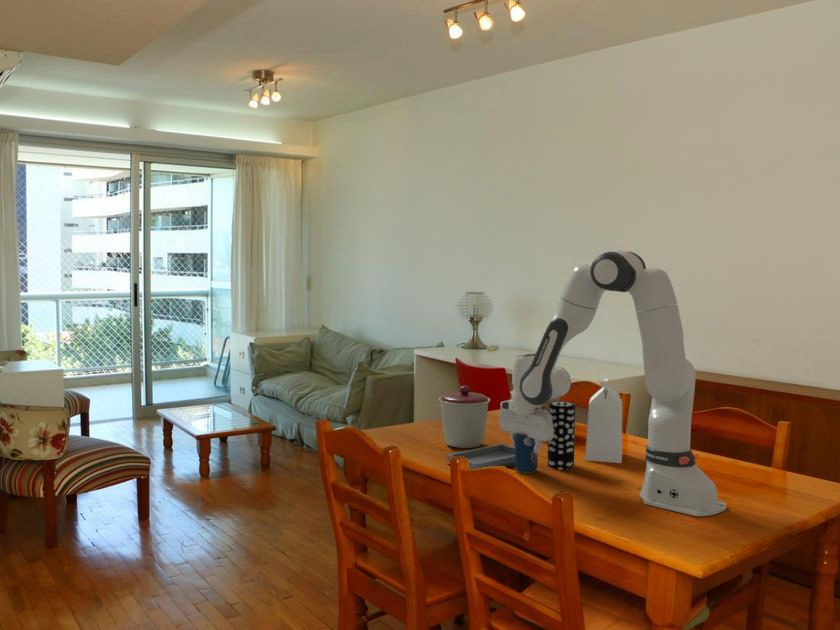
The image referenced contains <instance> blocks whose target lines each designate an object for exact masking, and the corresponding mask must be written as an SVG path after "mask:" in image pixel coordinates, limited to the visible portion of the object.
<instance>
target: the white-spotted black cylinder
mask: <svg viewBox="0 0 840 630" xmlns="http://www.w3.org/2000/svg"><path fill="white" fill-rule="evenodd" d="M548 412H549V413H550V414H551V415H552V422H553V430H554V437H553V439H552V440H550V441H547V463H546V464H547V467H548V468H551V469H552V470H553V469H554V470H560V471H561V470H562V471H564V470H566V471H567V470H571V469H574V468H575V440H576V439H575V437H576V436H575V435H576V434H575V432H576V404H575V403H574V402H570V401H562V400H561V401H560V400H559V401H556V402H550V403H549V410H548Z"/></svg>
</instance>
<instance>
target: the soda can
mask: <svg viewBox="0 0 840 630" xmlns="http://www.w3.org/2000/svg"><path fill="white" fill-rule="evenodd" d="M535 443H536V442H534V439H533V438H530V437H528V436H527V435H524V434H519V433H517V434H516V436H515V447H514V448H515V465H514V467H515V469H516V471H517V472H519V473H521V474H532V473H535V472H536V471H537V469H538V467H539V466H538V465H539V464H538V462H539V461H538V458H539V457H538V453H533V452H532V447H534V446H535Z"/></svg>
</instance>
